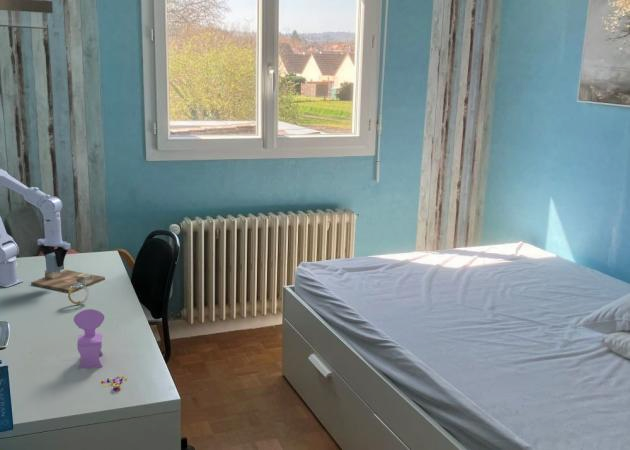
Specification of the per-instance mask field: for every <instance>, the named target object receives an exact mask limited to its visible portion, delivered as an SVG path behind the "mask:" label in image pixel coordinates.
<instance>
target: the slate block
mask: <svg viewBox="0 0 630 450" xmlns="http://www.w3.org/2000/svg"><path fill="white" fill-rule="evenodd" d="M44 258H45V270H46V271H52V272H57V271H60V272H61V271H64V270H65V262H64V263H63V266H61V267H58V266H57V260H56V256H55V253H54V252H53V253H50V254H47V255H45V256H44Z"/></svg>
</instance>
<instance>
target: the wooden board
mask: <svg viewBox="0 0 630 450" xmlns="http://www.w3.org/2000/svg"><path fill="white" fill-rule="evenodd" d="M104 280H106V276H101V275H96V274H92V273H86V272H82V271H81V272H80V271H75V270H70V269H69V270H68V269H63V270H60V271H57V272H52V271H46V269H44V277H42V278H39V279H37V280H33V281H31V282H30V283H31V285H32V286H36V287H40V288H41V287H42V288H45V289H46V288H47V289H50V290H56V291H61V292H65V293H68V292H69V289H70V287H71V286H73V285H74V284H76V282H77V283H79V282H80V284H81V283H82V284H83V283H84V284H83V286H85V287H87V288H88V287H89V286H92V285H94V284H95V285H96V284H97V283H100V282H103V281H104ZM82 289H84V288H82V287H78V288H76V289H75V290H73V291H72V292H71V294H72V293H75V292H78V291H79V290H82Z"/></svg>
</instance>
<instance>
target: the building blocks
mask: <svg viewBox="0 0 630 450" xmlns="http://www.w3.org/2000/svg"><path fill="white" fill-rule="evenodd" d="M117 379H118V380H117ZM116 380H117V381H116ZM127 380H128V377H126V376H124V375H121V376H117V377H115V378H112V377H107V379H106V382H107V383H109V384H105V383H106V382H105V381H104V380H101V384H102V385H103V386H104V387H109V385H113V392H116V391H121V384H123V383H125V382H126V381H127ZM111 381H112V382H111Z"/></svg>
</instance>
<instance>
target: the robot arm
mask: <svg viewBox="0 0 630 450" xmlns="http://www.w3.org/2000/svg"><path fill="white" fill-rule="evenodd" d="M0 187H6V188H8V189H10V190H11V191H13V192H15V193H18V194H19V195H22V196H23V199H24V201H26V202H28V203H29V204H30V205H33V206H34V207H36V208H37V209H39V210H40V212H41V214H42V216H43V217H42V218H43V225H44V226H43V227H44V238H39V239H37V245H38V246H41V247H39V250H40V251H41V253H42V254H43V256H44V257H45V255H47V254H50V253H53V252H54V253H55V256H56V260H57V266H58V267H61V266H63V263H64V264H65V262H64V261H65V259H66V258H65V257H66V255H67V252H68V251H69V250H71V247H72V246H71V243H70V242H67V241H64V240H63V238H62V223H61V222H62V221H61V220H62V219H61V210H62V209H63V207H64V206H63V205H64V204H63V201H62V200H61V199H60V198H58V196H51V195H50V194H46V193H45V192H43V191H41V190H40V188H39V187H38V186H37V187H36V186H31V187H28V186H27V185H25V184H23V183H22V182H21V181H19V180H18V179H17V178H15V177H13V176H12V175H10V174H9V173H8V171H6V170H4V169H2V168H0ZM19 253H20V248H19V246H18V244H17V243H16V242H15V240H14V238H13V237H12V236H11V235H10V234H8V232H7V231H6V228H5V224H4V222H3V219H2V217H1V216H0V287H4V288H8V287H12V286H14V285H17V284H20V283H23V282H24V280H23V279H18V270H17V269H18V268H17V256H18V254H19Z"/></svg>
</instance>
